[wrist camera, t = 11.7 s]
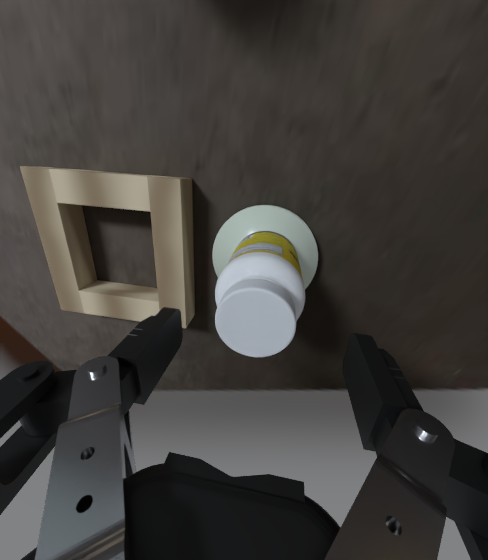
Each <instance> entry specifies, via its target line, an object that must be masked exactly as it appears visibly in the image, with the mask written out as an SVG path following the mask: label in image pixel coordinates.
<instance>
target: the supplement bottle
mask: <svg viewBox="0 0 488 560" xmlns="http://www.w3.org/2000/svg"><path fill="white" fill-rule="evenodd" d="M215 299H216V304H217V307H218V308H217V310H216V315H215V324H216V329H217V332H218V334H219V336H220V337H221V339H222V340H223V341H224V343H225V344H226V345H227V346H229V347H230V348H231V349H233V350H234V351H236V352H238V353H240V354H243V355H246V356H251V357H266V356H271V355H274V354H276V353H278V352H280V351H282V350H283V349H284V348H286V347H287V346H288V344H289V343H290V342H291V341H292V339H293V337H294V334H295V331H296V321H297V320H298V318H299V316H300V315H301V313H302V310H303V308H304V304H305V288H304V282H303V278H302V273H301V268H300V264H299V260H298V255H297V252H296V249H295V247H294V246H293V244H292V243H291V242H290V240H289V239H287V238H286V237H285V236H283V235H282V234H280V233H277V232H274V231H268V230H264V231H257V232H254V233H251V234H249V235H248V236H246V237H245V238H244V239H243V240H242V241H241V242H240V243H239V245H238V246H237V247H236V249H235V251H234V252H233V254H232V256H231V257H230V259H229V261H228V262H227V264H226V266H225V267H224V269H223V270H222V272H221V274H220V276H219V278H218V281H217V284H216V289H215Z"/></svg>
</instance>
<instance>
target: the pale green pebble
mask: <svg viewBox="0 0 488 560" xmlns="http://www.w3.org/2000/svg"><path fill="white" fill-rule="evenodd" d="M264 230H268V231H274V232H277V233H280V234H282V235H283V236H285V237H286V238H287V239H289V240H290V242H291V243H292V244H293V246H294V247H295V249H296V252H297V255H298V260H299V264H300V268H301V273H302V278H303V282H304V288H305V289H306V288H307V287H308V285H309V284H310V282H311V281H312V279H313V277H314V275H315V272H316V269H317V264H318V250H317V245H316V241H315V239H314V236H313V234H312V232H311V230H310V229H309V227H308V226H307V224H306V223H305V222H304V221H303V220H302V219H301V218H300V217H299V216H298V215H296V214H295V213H293V212H292V211H290V210H288V209H285V208H283V207H279V206H275V205H255V206H251V207H248V208H245V209H243V210H241V211H239V212H237V213H236V214H235V215H233V216H232V217H231V218H229V219H228V220H227V221H226V222H225V223H224V225H223V226H222V227H221V229H220V230H219V232H218V234H217V236H216V239H215V241H214V246H213V254H212V256H213V265H214V269H215V272H216V274H217V277H218V278H219V276H220V274H221V272H222V270H223V269H224V267H225V266H226V264H227V262H228V261H229V259H230V257H231V256H232V254H233V252H234V251H235V249H236V247H237V246H238V245H239V243H240V242H241V241H242V240H243V239H244V238H245V237H246V236H248V235H249V234H251V233H254V232H257V231H264Z"/></svg>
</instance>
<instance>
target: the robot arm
mask: <svg viewBox="0 0 488 560" xmlns="http://www.w3.org/2000/svg"><path fill="white" fill-rule="evenodd" d="M182 337H183V334H182V320H181V311H180V309H176V308H168V307H163V308H162V309H161V310H160V311H159V312H158V313H157V314H156V315H155V316H150V317H148V318H146V319H144V320H143V321H141V322H140V323H139V324H138V325H137V326H136V327H135V329H133V330H132V331H131V332H130V333H129V335H127V336H126V337H125V339H124V340H123V341H122V342H121V343H120V344H119V345H118V346H117V347H116V348H115V349H114V350H113V351H112V352H111V353H110V354H109V355H108V356H101V357H97V358H94V359H91V360H89V361H87V362H85V363H84V364H83V365H81V366H80V367H79V368H78V369H77V370H69V371H58V372H55V370H54V367H53V365H52V363H50V362H48V361H35V362H31V363H28V364H25V365H23V366H20V367H19V368H17V369H15V370H13V371H12V372H10V373H9V374H8V375H6V376H5V377H4V378H2V379H1V380H0V438H1V437H2V436H3V435H4V434H5V433H6V432H7V431H8V430H9V429H10V428H11V427H12V426H13V425H14V424H16V422H18V420H19V421H20V423H21V424H22V426H21V427H20V428H19V429H18V430H17V431H16V432H15V433H14V434H13V435H12V436H11V437H10V438H9V439H8V440H7V441H6V442H5V443H4V444H3V445H2V446H1V447H0V515H1V513H2V512H3V511H4V509H5V508H6V507H7V506H8V505H9V503H10V502H11V501H12V500H13V498H14V497H15V496H16V494H17V493H18V492H19V490H20V489H21V488H22V487H23V485H24V484H25V483H26V482H27V480H28V479H29V478H30V477H31V476H32V474H33V473H34V472H35V470H36V469H37V468H38V467H39V465H40V464H41V463H42V462H43V460H44V459H45V458H46V457H47V455H48V454H49V453H50V451H51V450H52V449H53V448H54V447H55V450H54V455H53V461H52V466H51V472H50V478H49V483H48V489H47V495H46V500H45V506H44V511H43V517H42V522H41V528H40V534H39V539H38V545H37V547H36V548H35V549H34V550H33V551H31V552H30V553H29V554H27V555H26V556H25V557H23V558H22V559H21V560H437V557H438V552H439V548H440V543H441V538H442V534H443V529H444V525H445V520H446V517H448V518H450V519H452V520H454V521H455V523H456V526H457V528H458V530H459V532H460V535H461V537H462V539H463V542H464V544H465V546H466V549H467V551H468V554H469V556H470V558H471V560H488V453H486V452H484V451H481V450H479V449H477V448H474V447H472V446H469V445H467V444H465V443H462V442H460V441H458V440H456V439H454V438H453V436H452V434H451V433H450V431H449V430H448V429H447V428H446V427H445V426H444V425H443V424H442V423H441V422H440V421H439V420H437V419H436V418H435V417H433V416H432V415H430V414H428V413H426V412H424V411H423V409H422V407H421V405H420V404H419V402H418V400H417V398H416V396H415V395H414V393H413V391H412V389H411V388H410V386H409V384H408V382H407V381H406V379H405V377H404V375H403V374H402V372H401V371H400V368H399V366H398V365H397V363H396V361H395V359H394V358H393V357H392V356H391V355H390V354H389V353H387V352H386V351H385V350H384V349H378V347H377V345H376V343H375V341H374V339H373V337H372V336H369V335H362V334H355V333H353V334H352V335H351V336H350V340H349V343H348V346H347V350H346V353H345V357H344V360H343V374H344V378H345V382H346V385H347V389H348V393H349V396H350V400H351V404H352V408H353V411H354V415H355V419H356V422H357V426H358V429H359V433H360V437H361V441H362V444H363V448H364V449H366V450H371V451H376V454H377V459H376V460H375V462H374V464H373V466H372V468H371V470H370V472H369V474H368V476H367V478H366V480H365V482H364V484H363V486H362V488H361V490H360V491H359V493H358V495H357V497H356V499H355V501H354V503H353V505H352V507H351V509H350V511H349V513H348V515H347V517H346V519H345V521H344V522H343V524H342V526H341V528H340V527H339V526H338V524H337V522H336V521H335V520H334V519H333V518H332V517H331V516H330V515H329V514H328V513H327V512H326V511H325V510H324V509H323V508H322V507H321V506H320V505H318V504H317V503H316V502H314V501H313V500H312V499H310V498H309V497H307V496H305V495H304V482H301V481H297V480H292V479H288V478H283V477H278V476H274V475H270V474H266V475H253V476H241V477H231V476H229V475H227V474H225V473H224V472H222V471H220V470H218V469H217V468H215V467H213V466H212V465H210V464H208V463H206V462H205V461H203V460H201V459H198V458H194V457H189V456H185V455H180V454H176V453H171V452H169V454H168V456H167V458H166V461H165V463H164V464H158V465H153V466H150V467H147V468H145V469H142V470H140V471H138V472H136V467H135V461H134V452H133V441H132V432H131V421H130V413H129V409H130V408H131V406H132V405H133V403H138V404H143V405H144V404H145V402H146V401H147V399H148V397H149V396H150V394H151V393H152V391H153V389H154V388H155V386H156V385H157V383H158V381H159V380H160V378H161V376H162V375H163V373H164V372H165V370H166V368H167V367H168V365H169V364H170V362H171V360H172V359H173V357H174V356H175V354H176V352H177V351H178V349H179V348H180V345H181V342H182Z"/></svg>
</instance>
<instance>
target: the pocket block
mask: <svg viewBox="0 0 488 560" xmlns="http://www.w3.org/2000/svg"><path fill="white" fill-rule="evenodd" d="M20 169H21V172H22V176H23V179H24V183H25V186H26V189H27V193H28V196H29V200H30V203H31V207H32V210H33V214H34V217H35V220H36V224H37V227H38V231H39V234H40V238H41V241H42V245H43V248H44V251H45V255H46V258H47V262H48V265H49V269H50V272H51V276H52V279H53V282H54V286H55V289H56V293H57V296H58V300H59V303H60V307H61V310H66V311H73V312H80V313H86V314H93V315H100V316H107V317H113V318H120V319H127V320H133V321H140V322H141V321H143V320H144V319H146V318H148V317H150V316H155V315H156V314H157V313H158V312H159V311H160V310H161V309H162V308H163V307H168V308H176V309H180V311H181V320H182V328H187V326H188V325H189V323H190V321H191V320H192V318H193V317H194V315H195V294H194V246H193V199H192V178H179V177H167V176H154V175H141V174H128V173H116V172H103V171H90V170H78V169H65V168H52V167H26V166H20ZM82 205H87V206H97V207H108V208H118V209H128V210H139V211H149V212H151V223H152V234H153V245H154V256H155V266H156V277H157V288H153V287H145V286H138V285H130V284H123V283H115V282H108V281H100V280H97V276H96V271H95V266H94V262H93V257H92V252H91V247H90V242H89V237H88V232H87V227H86V223H85V218H84V213H83V208H82Z"/></svg>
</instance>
